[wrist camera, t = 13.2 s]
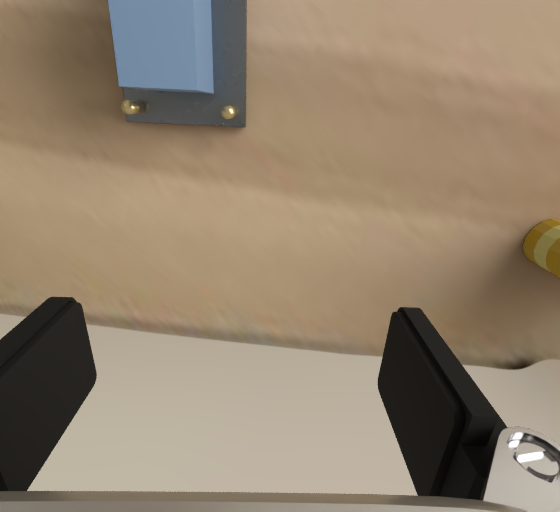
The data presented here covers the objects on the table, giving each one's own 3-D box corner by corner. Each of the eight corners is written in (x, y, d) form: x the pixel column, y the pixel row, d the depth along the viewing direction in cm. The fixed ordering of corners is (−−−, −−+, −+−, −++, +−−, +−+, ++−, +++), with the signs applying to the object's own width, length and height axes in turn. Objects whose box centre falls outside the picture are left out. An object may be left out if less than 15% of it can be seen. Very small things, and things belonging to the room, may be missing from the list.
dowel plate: (131, 120, 36) (114, 122, 32) (103, -110, 29) (77, -144, 25) (245, 126, 36) (242, 129, 32) (247, -99, 29) (243, -131, 25)
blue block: (137, -68, 29) (91, -127, 21) (209, -63, 29) (187, -119, 22) (152, 90, 34) (119, 86, 26) (213, 93, 34) (197, 90, 27)
